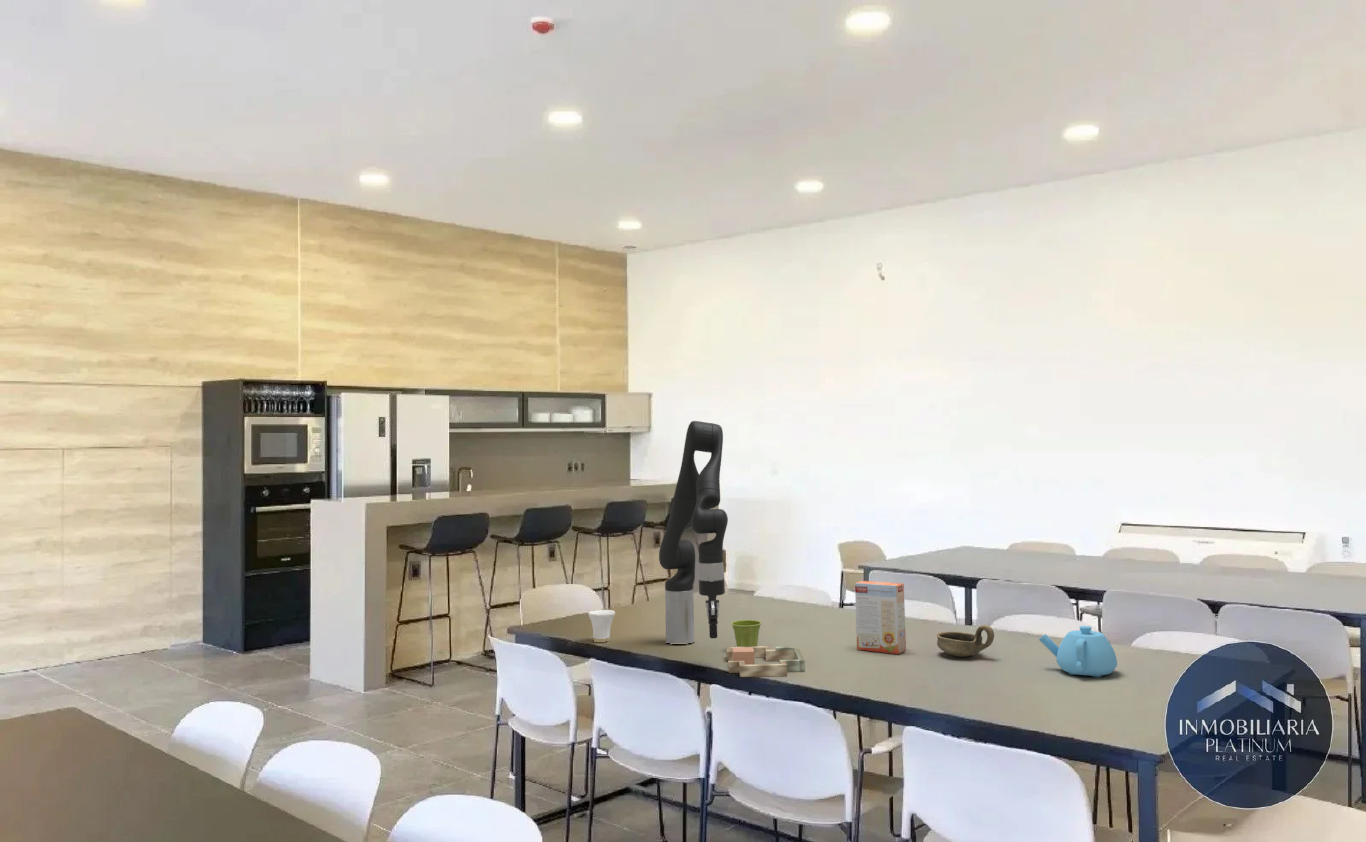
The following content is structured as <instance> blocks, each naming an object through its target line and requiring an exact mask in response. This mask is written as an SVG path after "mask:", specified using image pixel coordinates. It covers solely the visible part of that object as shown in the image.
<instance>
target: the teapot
mask: <svg viewBox="0 0 1366 842" xmlns="http://www.w3.org/2000/svg"><path fill="white" fill-rule="evenodd" d="M1038 641H1039V642H1040V643H1042V645H1044V646H1045V648H1046V649H1047V650H1048V651H1050V653H1051V654H1053V656H1054V657H1056V659H1055V660H1056V663H1057V665H1058V666H1059V667H1060V669H1061V670H1062V671H1064V672H1066V673H1068V675H1071V676H1077V675H1079V676H1091V677H1092V678H1101V677H1102V676H1105V675H1110V674H1111V673H1112V672H1113V671H1114V670H1116V668H1117V667H1118V659H1117V655H1116V652H1115V649H1114V647H1113V646H1112V644H1111V643H1110V641H1109V640H1108V638H1107V636H1106V635H1105V634H1104V633H1102V632H1099V631H1096V630H1095V631H1094V630H1092V627H1091V626H1090V625H1080V626H1079V630H1071V631H1068V632H1067V633H1066V635H1065V636H1064V637H1063V639H1062V641H1061V642H1060V645H1059V646H1058V645H1057V644H1056V643H1055V642H1054V641H1053V640H1052V639H1051V638H1050V637H1049V635H1047V634H1046V633H1045V634H1043V635H1042V636H1041V637H1040V638H1038Z"/></svg>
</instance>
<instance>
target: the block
mask: <svg viewBox="0 0 1366 842" xmlns="http://www.w3.org/2000/svg"><path fill="white" fill-rule="evenodd" d="M732 657H733V658H732V660H733V661H744V662H745V665H755V664H756V663H755V658H754V649H753V647H740V648H732Z"/></svg>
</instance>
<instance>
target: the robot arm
mask: <svg viewBox="0 0 1366 842" xmlns="http://www.w3.org/2000/svg"><path fill="white" fill-rule="evenodd" d="M685 434H686V435H685V440H684V447H683V452H682V453H683V454H682V460H681V465H680V469H679V473H678V479H677V481H676V486H675V490H674V495H673V500H672V503H671V510H670V513H669V514H670V515H669V517H668V518H669V519H668V521H667V525H666V528H665V531H664V534H663V537H662V540H661V543H660V547H659V553H658V561H659V564H660V566H661V567H662V569H664V570H677V571H676V573H675V574H674V575H673V576H672V577H671V578H669V579H667V580H666V581H665V583H664V591H665V592H664V593H665V594H664V595H665V600H664V601H665V618H664V619H665V644H666V643H692V644H694V643H695V642H694V641H695V639H696V638H695V609H694V607H695V603H694V585H695V579H696V552H695V551H696V550H695V547H694V544H693V543H692V541H691V540H689V539H681V537H682V535H683V534H684V531H685V530H686V529H687V527H688V526H689V525H690V524H691V528H692V530H693V531H694V533H696V534H702V535H703V534H704V535H705V534H715V536H714V537H713V539H710V540H707V541H703V542H700V543H699V544H698V572H697V573H698V594H699V595H700V596H705V597H707V598H708V599H706V600H705V608H706V617H707V618H708V619H707V620H708V621H707V623H708V627H709V638H710V639H717V638H718V624H719V621H718V618H719V617H720V616H719V615H720V613H719V612H720V611H719V609H720V600H719V599H717V597H718V596H723V595H724V594H725V593H726V589H725V588H726V587H725V584H726V583H725V581H726V580H725V567H724V552H723V549H724V548H723V547H724V539H725V534H726V531H727V526H728V523H729V517H728V513H727V512H726V511H725V510H724V509H721V508H717V506H719V505H720V503H721V486H720V480H721V479H720V478H721V477H720V475H721V466H722V458H723V457H722V456H723V444H724V433H723V427H722V426H721V425H720V424H718V423H713V422H704V421H701V420H700V421H697V420H692V421H691V422H690V423H689V424H688V426H687V430H686V433H685ZM696 451H697V452H703V453H709V454H711V455H710V459H709V460H708V462H707V463H706V465H705V466H704V467H703V468H702V470H701V471H700V472H699V471H698V469H697V465H696V462H695V452H696ZM713 508H714V509H713ZM693 642H694V643H693Z"/></svg>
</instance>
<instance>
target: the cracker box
mask: <svg viewBox="0 0 1366 842" xmlns="http://www.w3.org/2000/svg"><path fill="white" fill-rule="evenodd" d="M854 591H855V592H854V593H855V595H854V596H855V625H856V626H855V630H856V633H855V634H856V650H858V651H864V650H865V651H867V652H874V653H875V652H876V653H883V654H889V655H890V654H892V655H899V654H902V653H904V652H906V651H907V647H906V646H907V643H906V640H907V639H906V638H907V635H906V610H905V609H906V608H905V606H906V605H905V584H904V583H903V582H900V583H899V582H888V581H873V580H871V581H870V580H861V581H857V582H855V583H854Z"/></svg>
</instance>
